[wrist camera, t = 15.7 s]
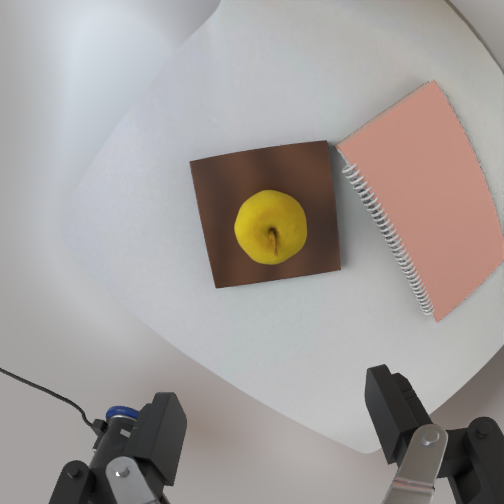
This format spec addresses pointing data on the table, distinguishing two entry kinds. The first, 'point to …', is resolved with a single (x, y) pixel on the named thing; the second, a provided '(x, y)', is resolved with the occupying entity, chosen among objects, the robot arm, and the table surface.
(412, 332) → the table surface
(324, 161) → the cutting board
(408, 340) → the table surface
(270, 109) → the table surface
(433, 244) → the notebook
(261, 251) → the apple
